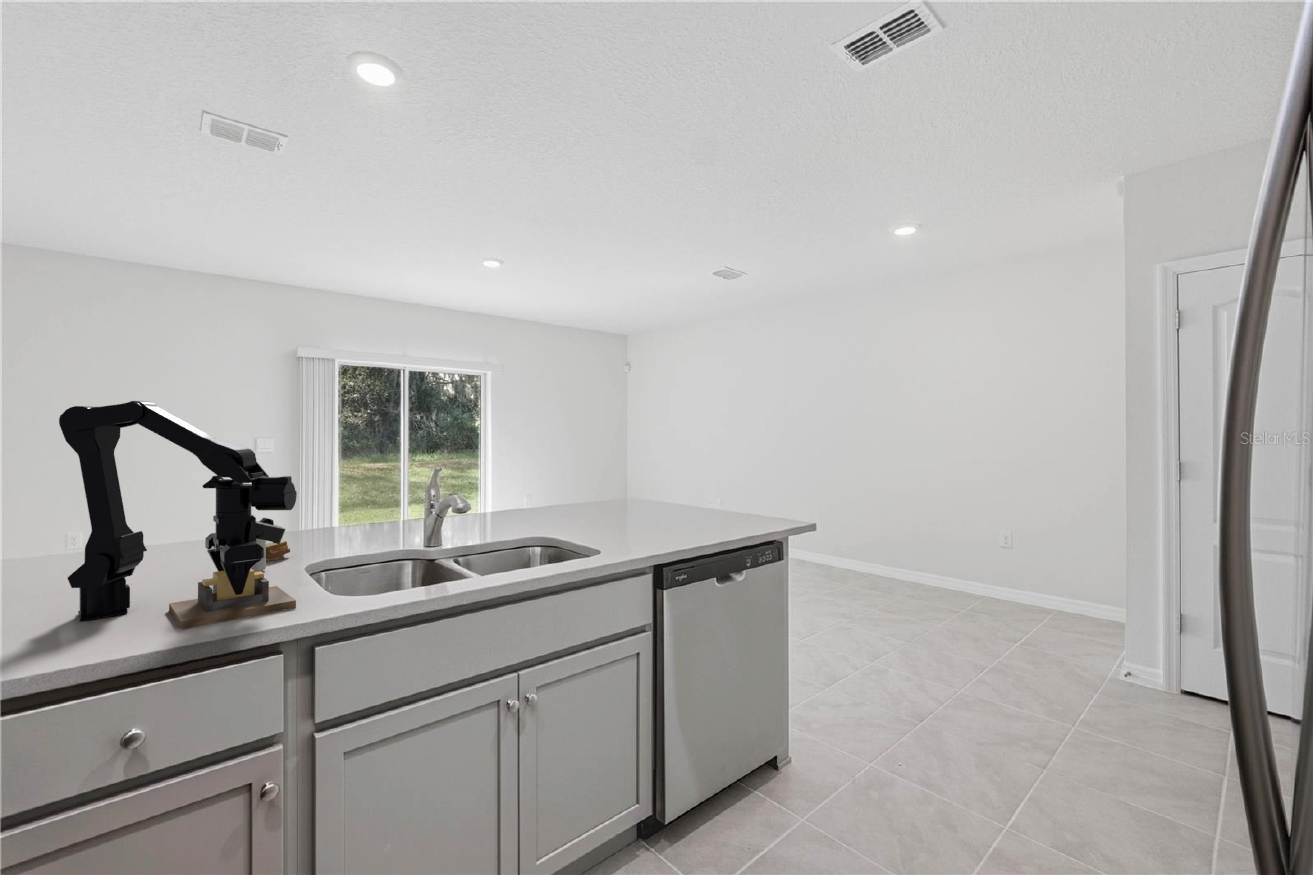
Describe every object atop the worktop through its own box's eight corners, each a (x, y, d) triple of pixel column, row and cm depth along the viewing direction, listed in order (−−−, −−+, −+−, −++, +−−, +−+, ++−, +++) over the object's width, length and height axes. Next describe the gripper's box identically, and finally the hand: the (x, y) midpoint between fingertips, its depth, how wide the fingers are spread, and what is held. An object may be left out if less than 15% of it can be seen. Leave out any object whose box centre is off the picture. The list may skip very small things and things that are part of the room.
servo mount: (181, 629, 103) (181, 599, 103) (169, 611, 113) (169, 583, 113) (296, 607, 117) (296, 580, 116) (276, 592, 126) (276, 567, 126)
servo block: (205, 609, 110) (205, 577, 110) (201, 604, 113) (201, 573, 113) (264, 599, 117) (265, 569, 117) (259, 594, 120) (260, 565, 120)
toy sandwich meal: (262, 553, 163) (263, 536, 163) (298, 557, 159) (298, 540, 159) (216, 562, 152) (216, 544, 151) (253, 568, 147) (253, 549, 147)
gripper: (294, 512, 114) (294, 591, 114) (268, 502, 127) (268, 573, 127) (225, 518, 106) (224, 603, 106) (204, 506, 118) (204, 582, 119)
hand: (233, 589), depth 115 cm, fingers open, 9 cm apart
